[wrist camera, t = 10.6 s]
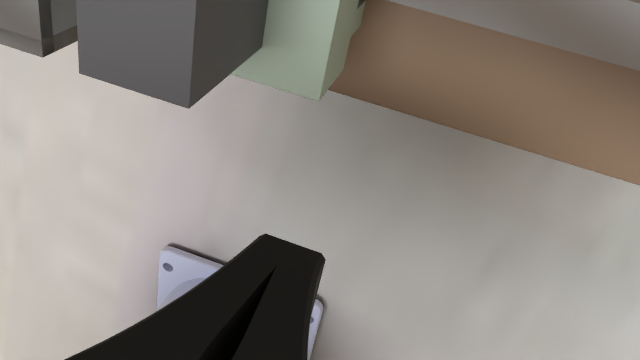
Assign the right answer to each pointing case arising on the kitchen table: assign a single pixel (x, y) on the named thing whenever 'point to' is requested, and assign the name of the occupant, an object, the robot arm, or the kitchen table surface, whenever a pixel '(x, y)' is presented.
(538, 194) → the kitchen table surface
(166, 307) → the robot arm
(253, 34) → the carriage
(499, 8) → the rail base
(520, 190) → the kitchen table surface
